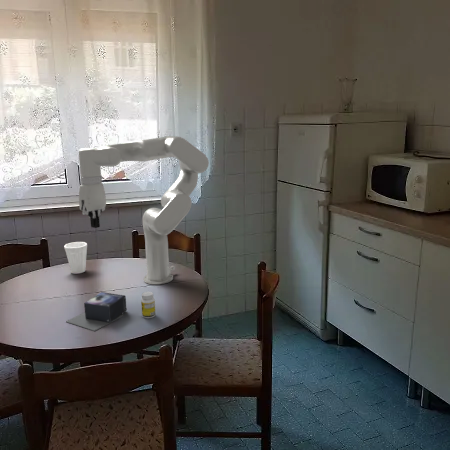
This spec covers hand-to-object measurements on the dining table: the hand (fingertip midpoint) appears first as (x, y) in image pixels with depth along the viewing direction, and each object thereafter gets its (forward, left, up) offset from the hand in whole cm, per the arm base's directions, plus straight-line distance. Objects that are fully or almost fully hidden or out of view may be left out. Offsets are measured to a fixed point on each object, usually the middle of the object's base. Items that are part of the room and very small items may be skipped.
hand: (95, 227), depth 173 cm
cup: (-12, -27, -27) cm, 40 cm away
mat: (+19, +17, -27) cm, 37 cm away
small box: (+10, +18, -24) cm, 31 cm away
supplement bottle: (+8, +32, -27) cm, 43 cm away
